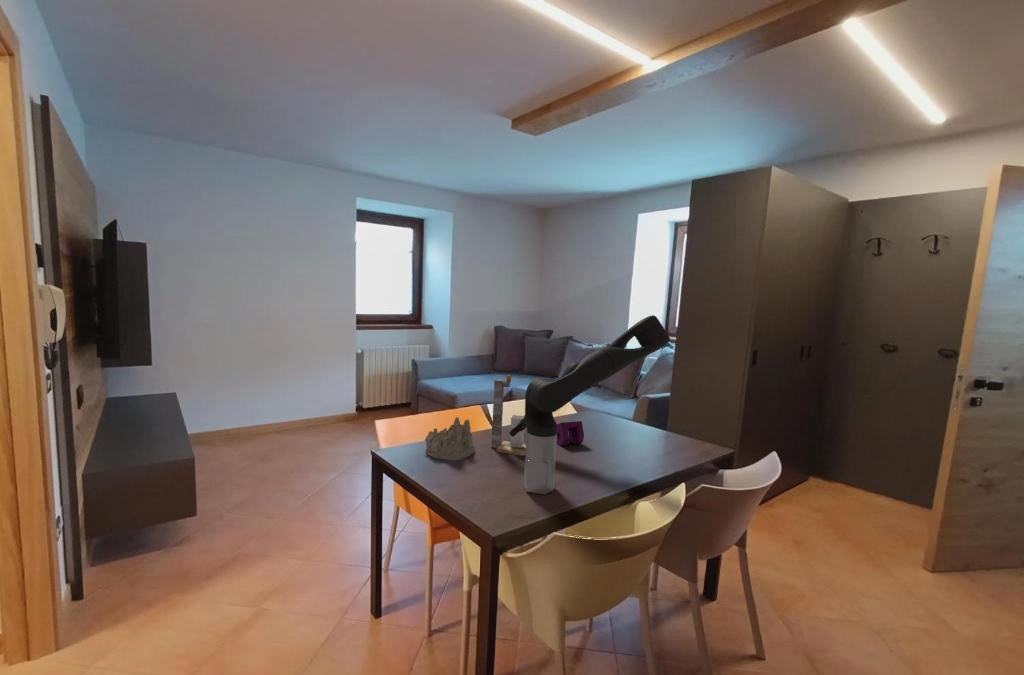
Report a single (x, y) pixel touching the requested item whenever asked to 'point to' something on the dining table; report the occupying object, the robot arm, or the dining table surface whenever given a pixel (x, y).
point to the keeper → (497, 420)
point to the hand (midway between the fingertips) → (512, 432)
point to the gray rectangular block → (519, 437)
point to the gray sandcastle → (451, 442)
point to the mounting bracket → (570, 433)
